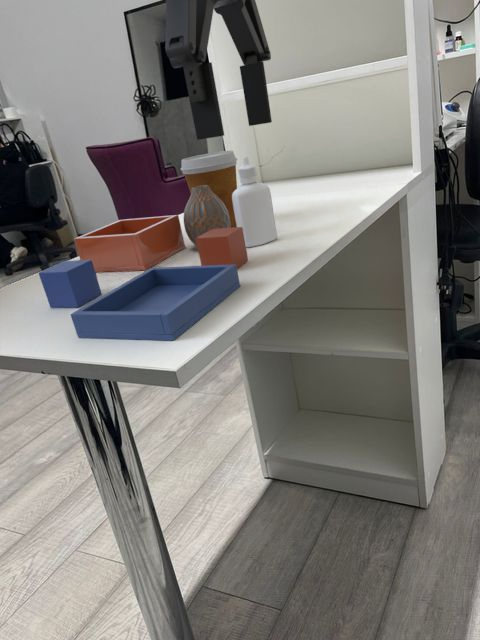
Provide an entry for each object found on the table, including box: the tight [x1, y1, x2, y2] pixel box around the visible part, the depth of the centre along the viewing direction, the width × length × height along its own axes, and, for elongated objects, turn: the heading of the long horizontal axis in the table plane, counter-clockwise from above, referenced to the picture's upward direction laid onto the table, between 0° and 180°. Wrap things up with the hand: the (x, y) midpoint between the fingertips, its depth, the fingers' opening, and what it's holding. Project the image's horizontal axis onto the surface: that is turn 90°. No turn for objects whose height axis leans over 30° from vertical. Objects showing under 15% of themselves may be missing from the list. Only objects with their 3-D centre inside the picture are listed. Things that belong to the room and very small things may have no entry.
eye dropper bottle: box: [232, 156, 278, 248], centre depth 77 cm, size 4×6×12 cm
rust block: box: [196, 227, 249, 269], centre depth 69 cm, size 4×4×4 cm
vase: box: [183, 185, 231, 247], centre depth 81 cm, size 7×7×9 cm
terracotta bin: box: [73, 214, 186, 273], centre depth 81 cm, size 11×11×5 cm
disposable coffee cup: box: [180, 150, 238, 228], centre depth 91 cm, size 10×10×12 cm
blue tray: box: [69, 265, 241, 341], centre depth 58 cm, size 12×15×3 cm
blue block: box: [38, 259, 103, 309], centre depth 66 cm, size 4×4×4 cm
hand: (237, 130), depth 60 cm, fingers open, 13 cm apart
